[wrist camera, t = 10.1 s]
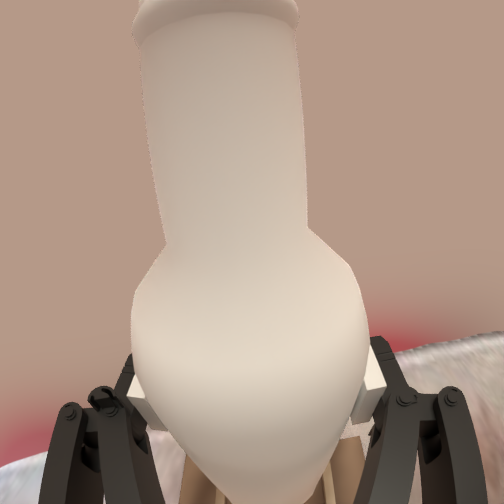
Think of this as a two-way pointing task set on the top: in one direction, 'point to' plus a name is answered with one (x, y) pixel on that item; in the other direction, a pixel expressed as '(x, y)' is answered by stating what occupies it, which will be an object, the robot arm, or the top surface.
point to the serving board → (324, 496)
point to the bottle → (240, 256)
